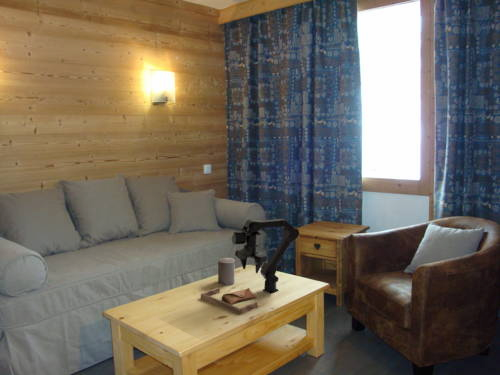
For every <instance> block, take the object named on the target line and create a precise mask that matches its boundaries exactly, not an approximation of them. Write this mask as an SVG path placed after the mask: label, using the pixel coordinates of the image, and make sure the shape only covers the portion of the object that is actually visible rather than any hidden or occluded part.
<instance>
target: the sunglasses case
mask: <svg viewBox="0 0 500 375" xmlns="http://www.w3.org/2000/svg"><path fill="white" fill-rule="evenodd" d="M257 298H258V297H257V296H256V295H255V294H254V293H253V292H252V291H251V289H250V288H248V287H247V288H246V289H240V290H236V291H234V292H229V293H224V294H223V295H222V296H221V301H223V302H225V303H228V304H230V305H233V306H234V305H236V304H238V303H242V302H246V301H249V300H253V299H257Z"/></svg>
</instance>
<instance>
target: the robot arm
mask: <svg viewBox="0 0 500 375" xmlns="http://www.w3.org/2000/svg"><path fill="white" fill-rule="evenodd" d="M280 227H281V229H282V230H283V235H282V240H281V241H280V243H279V245H278V246H277V247H276V250H275V251H274V253H273V254H272V256H271V258H270V259H269V261H268V257H267V256H266V255H265V254H258V252H257V248H258V247H259V244H258V243H257V242H258V240H257V239H258V238H257V237H258V236H261V234H262V233H261V232H260V231H261V230H263V229H270V228H271V229H272V228H280ZM299 236H300V230H299V229H298V228H297V227H294V226H292V225H291V224H290V223H289V222H288V220H287V219H284V218H275V219H265V220H259V219H250V218H249V219H247V220H245V223H244V225H243V227H242V228H241V230H240V231H233V234H232V235H231V243H232V244H233V245H244V246H243V248H240V249H237V250H235V252H234V254H235V255H234V256H235V257H236V258H238V259H239V260H240V264H241V266H242V269H243V270H245V269H246V268H247V267H246V266H247V261H248V258H251V259H253V263H254V264H255V273H256V274H258V273H260V274H261V276H263V278H264V288H263V289H262V291H263V292H265V293H268V294H273V293H275V292H278V291H279V289H278V288H277V283H278V282H279V277H278V276H277V275H276V273H277V269H278V265H279V263H280V262H281V259H282V258H283V256H284V255H285V253H286V252H287V250H288V248H289V246H290V245H291V244H292V243H293V242H295V241H296V240H297V239H298V237H299ZM259 271H260V272H259Z"/></svg>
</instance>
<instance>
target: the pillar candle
mask: <svg viewBox="0 0 500 375" xmlns="http://www.w3.org/2000/svg"><path fill="white" fill-rule="evenodd" d="M217 262H218V263H217V265H218V266H217V267H218V270H217V272H218V273H217V279H218V280H217V284H219V285H221V286H231V285H234V284H235V273H236V272H235V270H236V269H235V262H236V261H235V259H234V258H232V257H220V258H218V261H217Z"/></svg>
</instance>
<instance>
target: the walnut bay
mask: <svg viewBox="0 0 500 375" xmlns="http://www.w3.org/2000/svg"><path fill="white" fill-rule="evenodd" d="M220 293H221V292H220V287H216V288H213V289H210V290H208V291H205V292H203V293H202V292H201V293H200V299H201V300H204V301H206V302H209V303H211V304H213V305H216V306H218V307H220V308H223V309H225V310H227V311H229V312H230V311H231V312H233V313H235V314H237V315H243V314H245V313H247V312H250V311H251V310H253V309H257V308H258V302H257V301H254V302H252V303H249V304H247V305H245V306H242V307H238V306H235V305H234V304H233V305H230V304H228V303H226V302H224V301H222V300H220V299H217V298H215V297H212V296H214V295H217V294H220Z"/></svg>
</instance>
